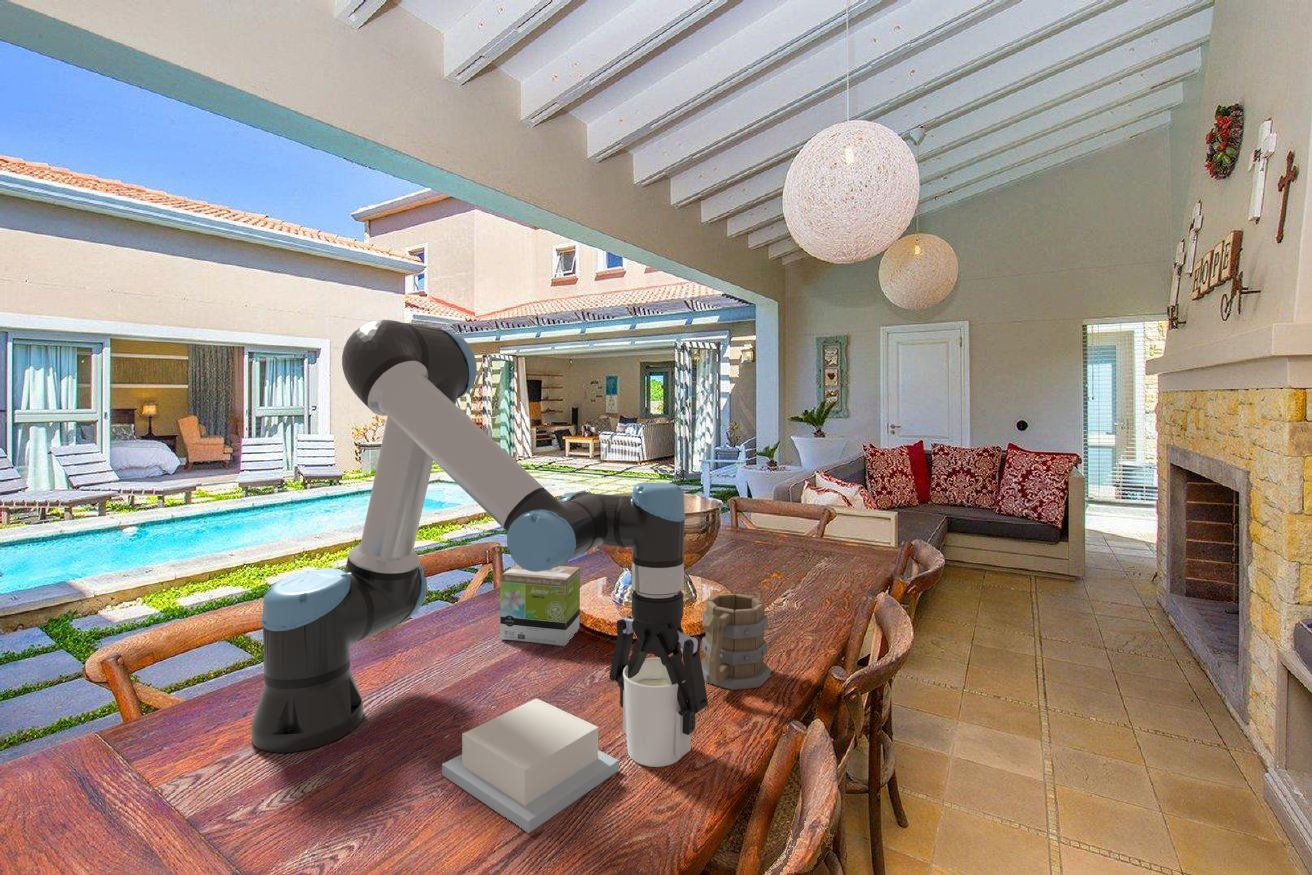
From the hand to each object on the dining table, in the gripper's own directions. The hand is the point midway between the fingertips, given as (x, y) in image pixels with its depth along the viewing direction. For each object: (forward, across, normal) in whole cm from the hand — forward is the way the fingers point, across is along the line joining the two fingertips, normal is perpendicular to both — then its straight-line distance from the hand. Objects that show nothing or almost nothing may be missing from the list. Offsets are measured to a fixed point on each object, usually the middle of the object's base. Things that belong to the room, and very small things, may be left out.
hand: (655, 740), depth 90 cm
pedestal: (+1, +10, +15) cm, 18 cm away
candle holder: (+2, 0, 0) cm, 2 cm away
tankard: (+2, +4, -26) cm, 26 cm away
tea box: (+2, +47, -19) cm, 51 cm away
